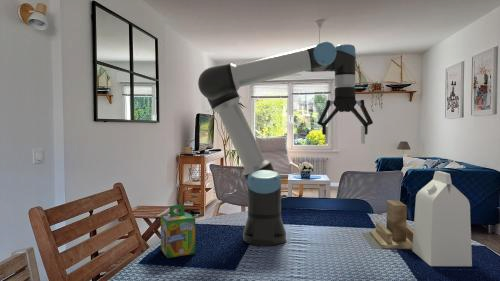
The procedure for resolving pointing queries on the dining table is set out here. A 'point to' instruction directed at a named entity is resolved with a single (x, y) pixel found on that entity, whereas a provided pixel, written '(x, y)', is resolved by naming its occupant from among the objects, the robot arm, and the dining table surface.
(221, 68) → the robot arm
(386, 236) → the rack
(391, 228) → the brown wooden block
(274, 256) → the dining table surface
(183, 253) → the chalk box
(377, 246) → the mat
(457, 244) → the milk
